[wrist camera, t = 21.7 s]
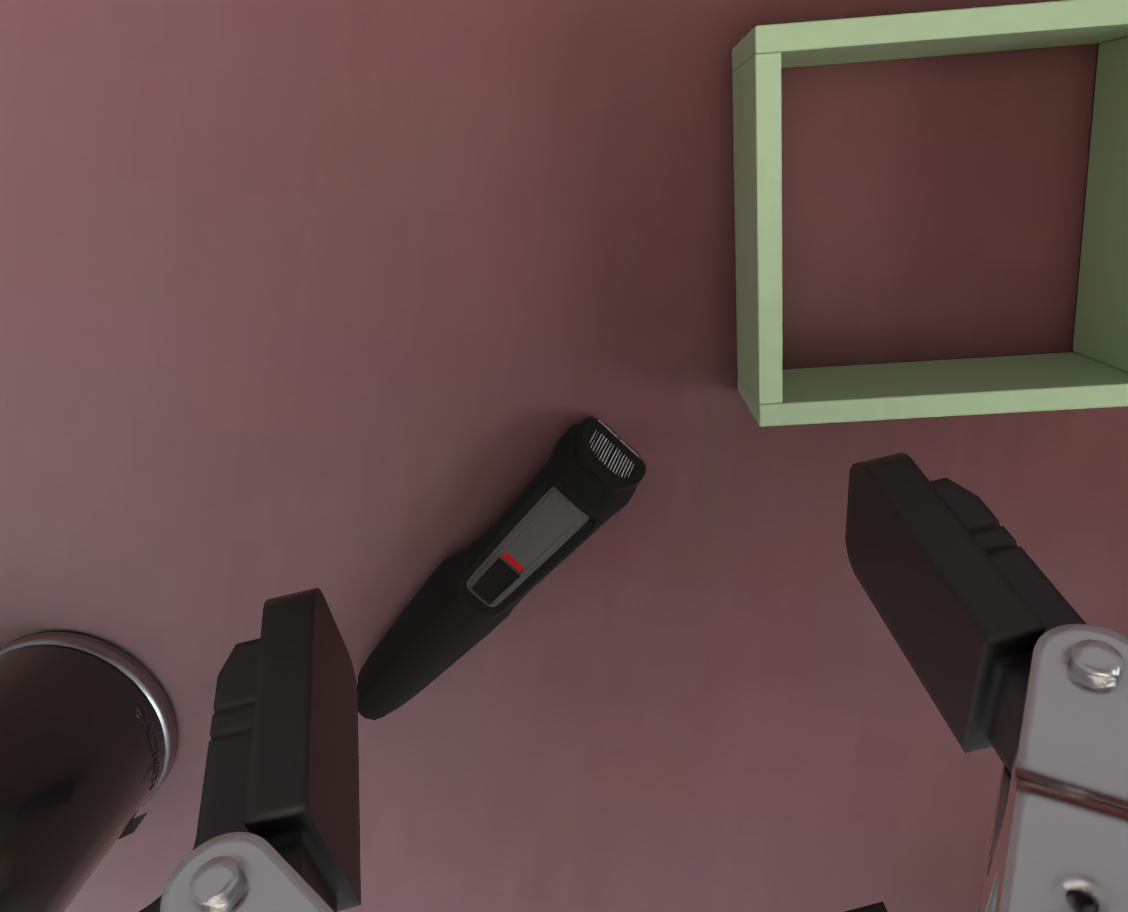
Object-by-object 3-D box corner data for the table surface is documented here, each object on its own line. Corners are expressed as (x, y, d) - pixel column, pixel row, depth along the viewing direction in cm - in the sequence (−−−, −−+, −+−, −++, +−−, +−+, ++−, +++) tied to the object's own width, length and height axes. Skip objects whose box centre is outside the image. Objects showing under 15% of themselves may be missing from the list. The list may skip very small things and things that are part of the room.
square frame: (737, 391, 37) (759, 427, 32) (731, 48, 34) (754, 25, 28) (1091, 370, 36) (1172, 404, 31) (1123, 17, 33) (1222, -13, 28)
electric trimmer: (345, 651, 42) (324, 689, 39) (585, 406, 38) (582, 427, 35) (409, 703, 42) (394, 745, 39) (652, 468, 38) (655, 494, 35)
